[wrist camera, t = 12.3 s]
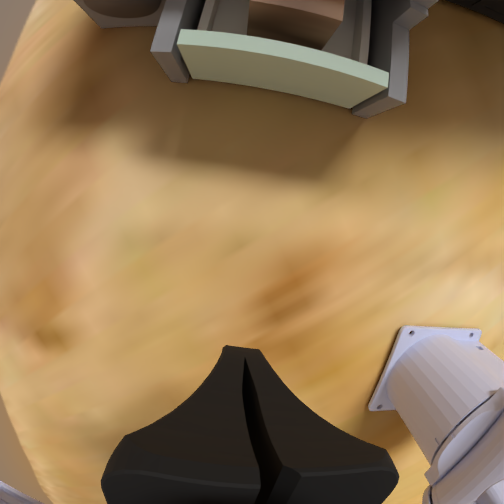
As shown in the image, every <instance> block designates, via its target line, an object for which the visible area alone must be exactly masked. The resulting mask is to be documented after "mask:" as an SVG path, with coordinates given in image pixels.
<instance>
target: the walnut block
mask: <svg viewBox="0 0 504 504" xmlns="http://www.w3.org/2000/svg"><path fill="white" fill-rule="evenodd" d="M344 3H345V0H250V2H249V14H248V25H247V36H254V37H260V38H266V39H271V40H276V41H281V42H286V43H291V44H296V45H300V46H304V47H308V48H312V49H316V50H320V51H321V50H322V49H323V47H324V46H325V45H326V43H327V42H328V41H329V39H330V38H331V36H332V35H333V34H334V32H335V31H336V30H337V28H338V27H339V25H340V24H341V23H342V21H343V13H344Z"/></svg>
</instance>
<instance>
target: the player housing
mask: <svg viewBox="0 0 504 504" xmlns="http://www.w3.org/2000/svg"><path fill="white" fill-rule="evenodd" d="M74 1H75V2H76V3H77V4H78V5H79V6H80V7H81V8H82V9H83V10H84V11H85V12H86V13H87V14H88V15H89V16H90V17H91V18H92V19H93V20H94V21H95V22H96V23H97V24H98V25H99V26H100V27H101V28H113V27H132V26H158V27H157V30H156V33H155V36H154V39H153V43H152V46H151V50H150V52H151V54H152V55H153V56H154V58H155V59H156V61H157V62H158V63H159V65H160V66H161V68H162V69H163V70H164V72H165V73H166V75H167V76H168V78H169V79H170V80H171V82H182V83H188V79H189V74H190V72H189V70H188V68H187V65H186V63H185V61H184V59H183V57H182V55H181V52H180V50H179V48H178V46H177V41H178V38H179V34H180V31H181V29H188V30H197V28H198V25H199V21H200V18H201V14H202V11H203V8H204V5H205V1H206V0H74ZM436 2H438V0H372V4H371V24H370V39H369V52H368V63H367V65H369V66H372V67H375V68H377V69H380V70H383V71H386V72H388V73H389V80H388V88H386V89H384V90H382V91H381V92H379V93H377V94H375V95H373V96H371V97H370V98H368V99H366V100H364V101H362V102H360V103H359V104H357V105H355V106H353V109H352V114H353V115H356V116H359V117H363V118H366V119H367V118H369V117H372V116H374V115H377V114H379V113H382V112H384V111H387V110H389V109H392V108H394V107H397V106H400V105H402V104H405V103H406V97H407V84H408V66H409V30H410V29H411V28H413V27H414V26H415V25H417V24H418V23H419V22H421V21H422V20H424V19H425V18H426V17H428V8H430V7H431V6H432V5H434V4H435V3H436Z"/></svg>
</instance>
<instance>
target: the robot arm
mask: <svg viewBox="0 0 504 504" xmlns="http://www.w3.org/2000/svg"><path fill="white" fill-rule="evenodd" d="M411 331H412V332H411ZM410 332H411V333H410ZM409 333H410V334H409ZM481 334H482V331H481V330H480V329H476V328H447V327H427V326H410V325H405V326H403V327H402V328H401V329H400V330H399V333H398V335H397V338H396V341H395V343H394V346H393V349H392V351H391V354H390V356H389V359H388V361H387V364H386V366H385V369H384V371H383V373H382V376H381V378H380V380H379V383H378V385H377V387H376V389H375V391H374V394H373V396H372V398H371V400H370V402H369V404H368V408H369V410H370V411H384V410H397V412H398V413H399V415H400V417H401V418H402V420H403V421H404V423H405V425H406V426H407V428H408V429H409V431H410V433H411V434H412V436H413V437H414V439H415V441H416V442H417V444H418V446H419V447H420V449H421V450H422V452H423V454H424V455H425V457H426V459H427V460H428V462H429V464H430V465H431V467H430V468H429V470H428V471H427V472H426V473H425V474H424V475H425V477H426V478H427V480H428V482H429V484H430V485H429V486H428V487H427V488H426V489H425V491H424V493H423V499H422V504H504V361H503V360H501V359H500V358H499V357H498V356H496V355H495V354H494V353H493V352H491V351H490V350H489V349H488V348H486V347H485V346H484V345H483V344H481V343H480V342H479V339H480V337H481ZM398 480H399V474H398V472H397V469H396V467H395V465H394V463H393V461H392V459H391V457H390V456H389V454H388V452H387V451H386V449H383V448H380V447H378V446H375V445H372V444H370V443H367V442H365V441H362V440H360V439H358V438H356V437H354V436H352V435H350V434H348V433H346V432H344V431H342V430H340V429H338V428H337V427H335V426H333V425H332V424H330V423H329V422H327V421H326V420H324V419H323V418H321V417H320V416H319V415H317V414H316V413H315V412H313V411H312V410H311V409H310V408H308V407H307V406H306V405H305V404H304V403H303V402H301V401H300V400H299V399H298V398H297V397H296V396H295V395H294V394H293V393H292V392H291V391H290V390H289V388H288V387H287V386H286V385H285V384H284V383H283V382H282V380H281V379H280V378H279V376H278V375H277V374H276V373H275V371H274V370H273V369H272V367H271V366H270V364H269V363H268V361H267V360H266V358H265V357H264V355H263V354H262V353H261V351H260V350H259V349H251V348H243V347H235V346H228V345H226V346H224V347H223V349H222V353H221V356H220V358H219V360H218V362H217V363H216V365H215V367H214V368H213V370H212V371H211V373H210V374H209V376H208V377H207V378H206V379H205V381H204V382H203V383H202V384H201V386H200V387H199V388H198V389H197V390H196V391H195V392H194V393H193V394H192V395H191V396H190V397H189V398H188V399H187V400H186V401H184V402H183V403H182V404H181V405H179V406H178V407H177V408H176V409H174V410H173V411H172V412H170V413H169V414H167V415H166V416H164V417H162V418H161V419H159V420H157V421H156V422H154V423H152V424H150V425H148V426H146V427H144V428H142V429H140V430H137V431H135V432H133V433H131V434H128V435H125V436H124V438H123V439H122V440H121V442H120V443H119V444H118V446H117V447H116V449H115V450H114V452H113V454H112V455H111V457H110V459H109V461H108V463H107V465H106V468H105V471H104V473H103V476H102V479H101V488H102V491H103V493H104V496H105V499H106V501H107V504H382V503H383V501H384V500H385V499H386V498H387V497H388V496H389V495H390V493H391V492H392V491H393V490H394V488H395V487H396V485H397V483H398ZM0 504H44V503H42V502H40V501H38V500H36V499H34V498H32V497H30V496H28V495H26V494H24V493H22V492H20V491H18V490H16V489H15V488H13V487H11V486H9V485H7V484H6V483H4V482H2V481H1V480H0Z"/></svg>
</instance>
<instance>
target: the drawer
mask: <svg viewBox="0 0 504 504" xmlns="http://www.w3.org/2000/svg"><path fill="white" fill-rule="evenodd" d="M249 2H250V0H206V1H205V5H204V8H203V11H202V14H201V18H200V21H199V25H198V28H197V30H188V29H181V31H180V34H179V38H178V41H177V46H178V48H179V50H180V52H181V55H182V57H183V59H184V61H185V63H186V65H187V68H188V70H189V72H190V74H191V76H192V79H201V80H210V81H219V82H226V83H233V84H240V85H247V86H253V87H258V88H264V89H269V90H275V91H280V92H285V93H289V94H294V95H298V96H303V97H307V98H311V99H315V100H319V101H323V102H327V103H331V104H335V105H338V106H342V107H345V108H349V109H350V108H352V107H353V106H355V105H357V104H359V103H360V102H362V101H364V100H366V99H368V98H370V97H371V96H373V95H375V94H377V93H379V92H381V91H382V90H384V89H386V88H388V80H389V73H388V72H386V71H383V70H380V69H377V68H375V67H372V66H369V65H367V63H368V52H369V39H370V24H371V4H372V0H345V3H344V13H343V21H342V23H341V24H340V25H339V27H338V28H337V30H336V31H335V32H334V34H333V35H332V36H331V38H330V39H329V41H328V42H327V43H326V45H325V46H324V47H323V49H322V50H321V51H320V50H316V49H312V48H308V47H304V46H300V45H296V44H291V43H286V42H281V41H276V40H271V39H266V38H260V37H254V36H247V25H248V14H249Z"/></svg>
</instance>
